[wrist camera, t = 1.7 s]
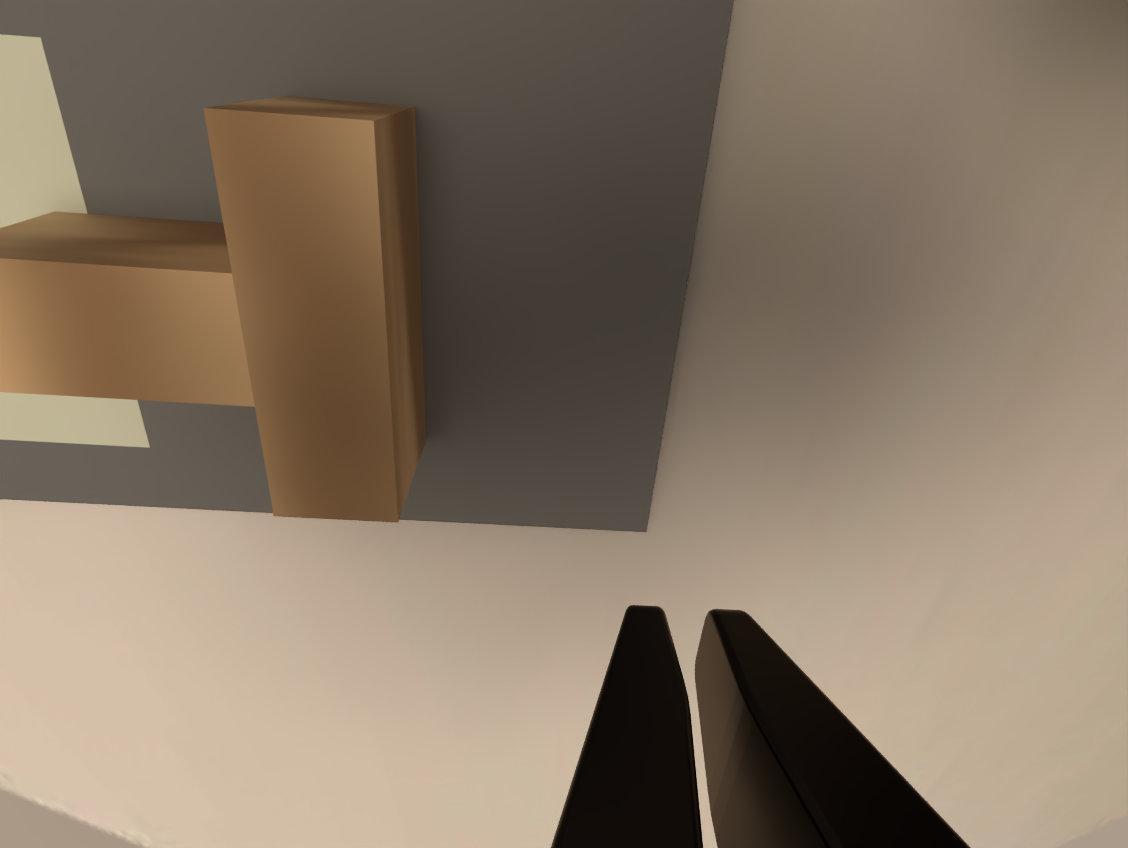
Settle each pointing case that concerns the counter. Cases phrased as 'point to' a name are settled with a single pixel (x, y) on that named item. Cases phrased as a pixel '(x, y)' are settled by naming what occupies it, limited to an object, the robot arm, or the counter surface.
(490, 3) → the mat
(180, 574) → the counter surface
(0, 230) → the t block
